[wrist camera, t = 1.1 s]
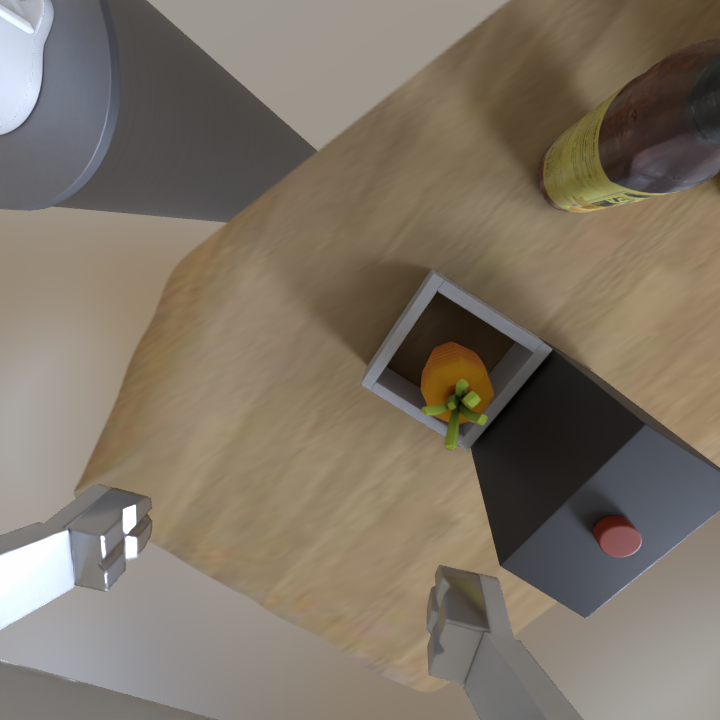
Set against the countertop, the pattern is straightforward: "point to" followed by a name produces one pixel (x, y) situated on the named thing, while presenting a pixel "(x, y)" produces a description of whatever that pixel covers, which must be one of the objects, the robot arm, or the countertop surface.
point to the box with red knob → (563, 463)
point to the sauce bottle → (642, 137)
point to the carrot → (455, 388)
